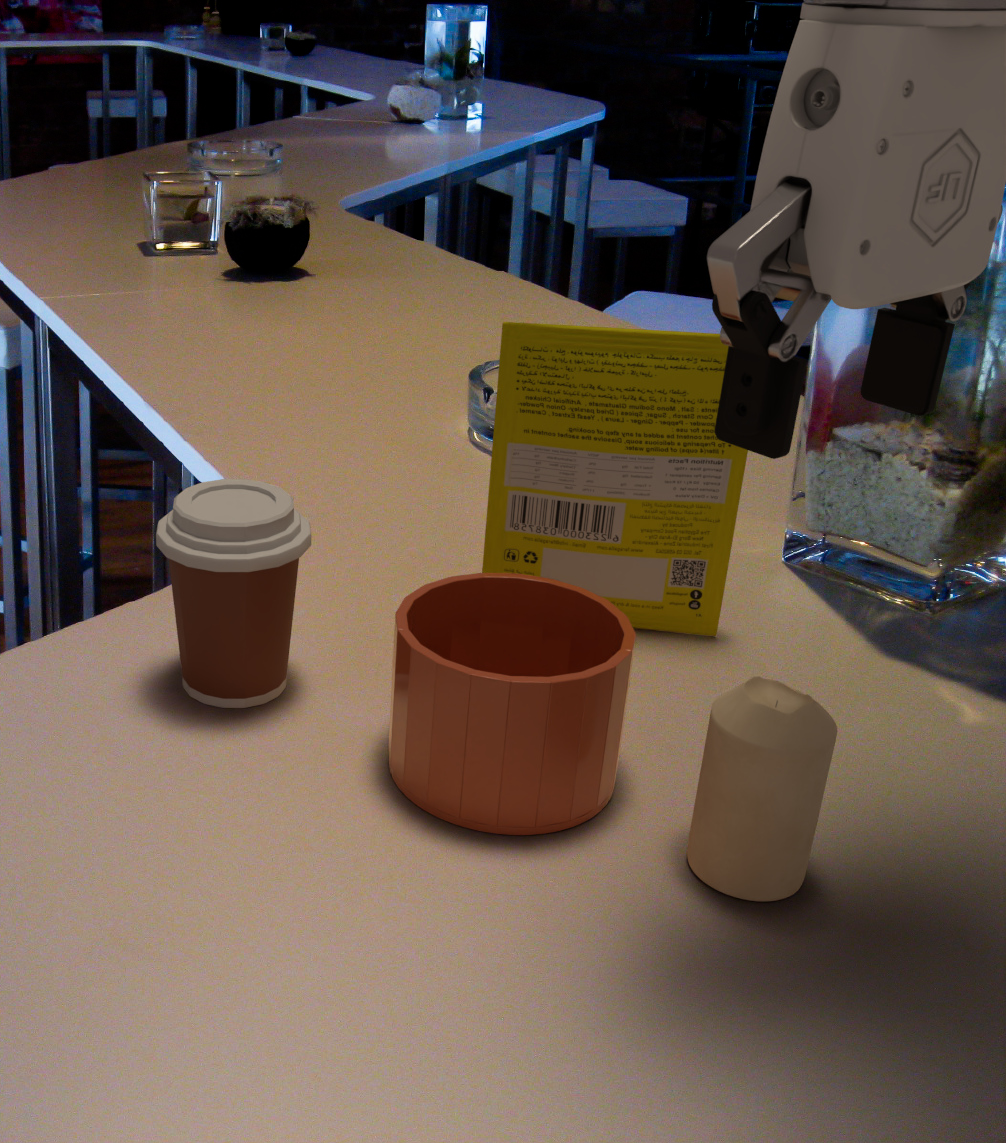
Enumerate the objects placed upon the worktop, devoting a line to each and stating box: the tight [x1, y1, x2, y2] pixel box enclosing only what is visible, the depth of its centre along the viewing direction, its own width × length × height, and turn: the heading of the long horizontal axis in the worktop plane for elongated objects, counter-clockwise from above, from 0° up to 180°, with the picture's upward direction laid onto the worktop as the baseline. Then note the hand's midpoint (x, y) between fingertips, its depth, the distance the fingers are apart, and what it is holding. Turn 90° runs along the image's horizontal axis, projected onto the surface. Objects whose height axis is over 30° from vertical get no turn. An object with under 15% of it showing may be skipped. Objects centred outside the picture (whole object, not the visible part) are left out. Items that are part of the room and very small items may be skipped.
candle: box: [686, 675, 838, 902], centre depth 63 cm, size 6×6×10 cm
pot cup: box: [387, 572, 637, 836], centre depth 71 cm, size 12×12×9 cm
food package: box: [481, 321, 749, 637], centre depth 84 cm, size 15×1×20 cm, turn 77°
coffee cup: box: [155, 478, 312, 709], centre depth 79 cm, size 9×9×12 cm
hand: (825, 426), depth 56 cm, fingers open, 9 cm apart
